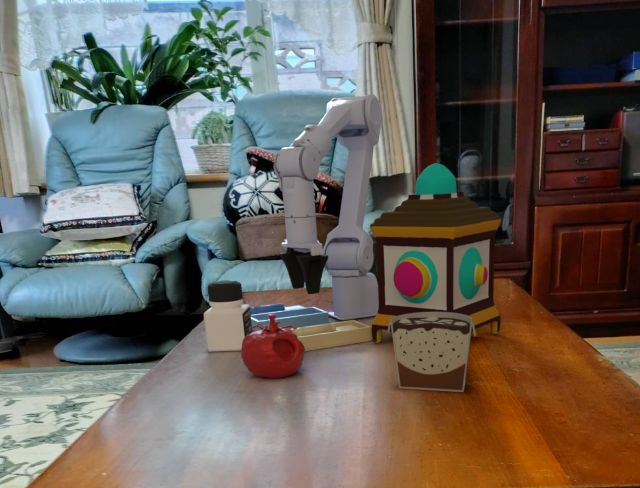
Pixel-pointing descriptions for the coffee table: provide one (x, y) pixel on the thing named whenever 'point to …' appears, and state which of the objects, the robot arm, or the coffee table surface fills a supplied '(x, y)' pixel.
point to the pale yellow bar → (320, 329)
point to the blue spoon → (271, 308)
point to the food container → (432, 350)
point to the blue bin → (292, 318)
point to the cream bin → (337, 336)
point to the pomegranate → (272, 351)
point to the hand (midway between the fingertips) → (305, 290)
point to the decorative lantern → (436, 254)
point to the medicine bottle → (226, 316)
